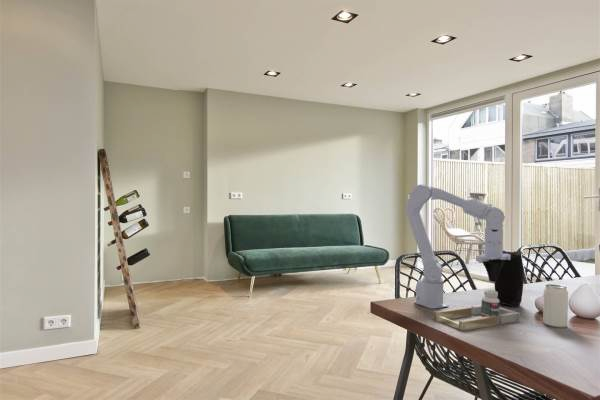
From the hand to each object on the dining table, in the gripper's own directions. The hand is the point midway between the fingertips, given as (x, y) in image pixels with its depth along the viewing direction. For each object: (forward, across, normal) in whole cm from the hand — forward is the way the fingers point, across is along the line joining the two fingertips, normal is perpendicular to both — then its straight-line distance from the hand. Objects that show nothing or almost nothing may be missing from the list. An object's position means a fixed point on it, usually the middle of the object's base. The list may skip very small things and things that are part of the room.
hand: (493, 281), depth 141 cm
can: (+11, +6, -18) cm, 22 cm away
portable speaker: (+11, +13, +4) cm, 17 cm away
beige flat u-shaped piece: (+10, -18, -5) cm, 21 cm away
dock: (+10, -4, -5) cm, 12 cm away
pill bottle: (+11, -8, -5) cm, 14 cm away
